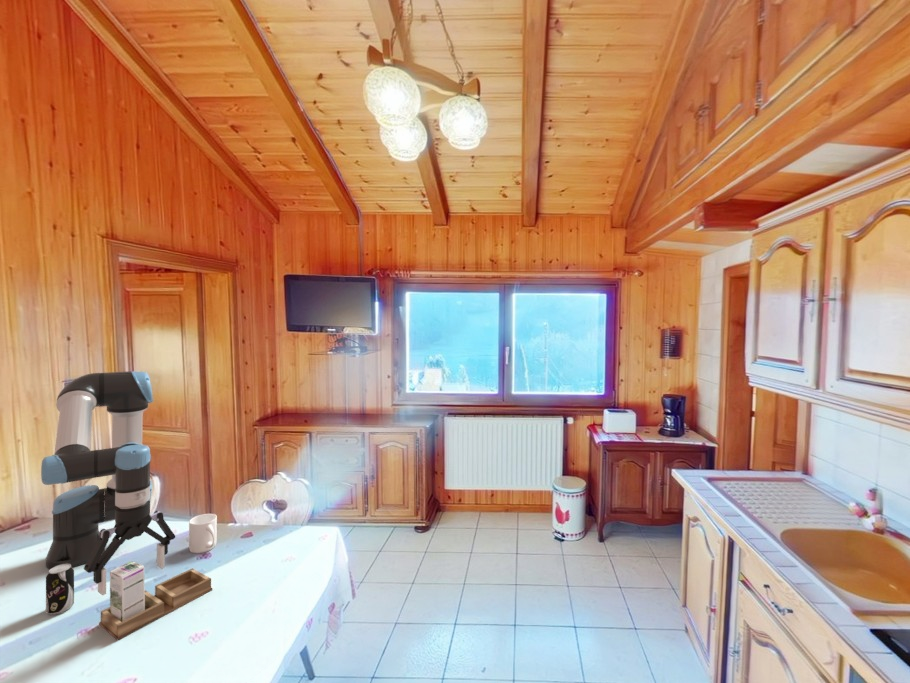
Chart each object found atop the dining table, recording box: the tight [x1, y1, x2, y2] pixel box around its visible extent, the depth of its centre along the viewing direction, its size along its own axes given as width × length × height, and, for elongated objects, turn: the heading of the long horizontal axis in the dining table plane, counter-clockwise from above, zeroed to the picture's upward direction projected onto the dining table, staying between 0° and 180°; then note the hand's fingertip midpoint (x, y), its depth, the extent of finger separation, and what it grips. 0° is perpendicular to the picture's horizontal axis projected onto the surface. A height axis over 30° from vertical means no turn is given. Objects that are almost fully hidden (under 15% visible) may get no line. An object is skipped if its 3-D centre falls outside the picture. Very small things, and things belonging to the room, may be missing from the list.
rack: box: [98, 568, 213, 641], centre depth 118 cm, size 11×24×4 cm, turn 150°
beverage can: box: [45, 564, 75, 615], centre depth 115 cm, size 6×6×12 cm
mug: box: [188, 513, 218, 554], centre depth 148 cm, size 9×12×11 cm
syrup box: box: [109, 561, 146, 622], centre depth 111 cm, size 6×6×14 cm
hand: (132, 579), depth 112 cm, fingers open, 13 cm apart
